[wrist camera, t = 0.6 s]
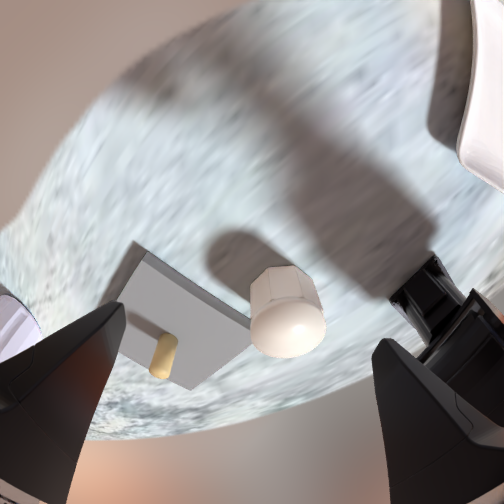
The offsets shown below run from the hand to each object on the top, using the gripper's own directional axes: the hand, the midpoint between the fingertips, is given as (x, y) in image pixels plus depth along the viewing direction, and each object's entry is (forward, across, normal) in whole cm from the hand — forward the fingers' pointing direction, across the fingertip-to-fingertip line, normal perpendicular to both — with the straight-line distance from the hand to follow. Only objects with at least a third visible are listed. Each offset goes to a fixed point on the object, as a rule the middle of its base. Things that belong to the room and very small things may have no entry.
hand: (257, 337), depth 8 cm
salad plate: (+14, -25, -18) cm, 33 cm away
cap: (+13, -3, +7) cm, 15 cm away
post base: (+12, +6, +13) cm, 19 cm away
